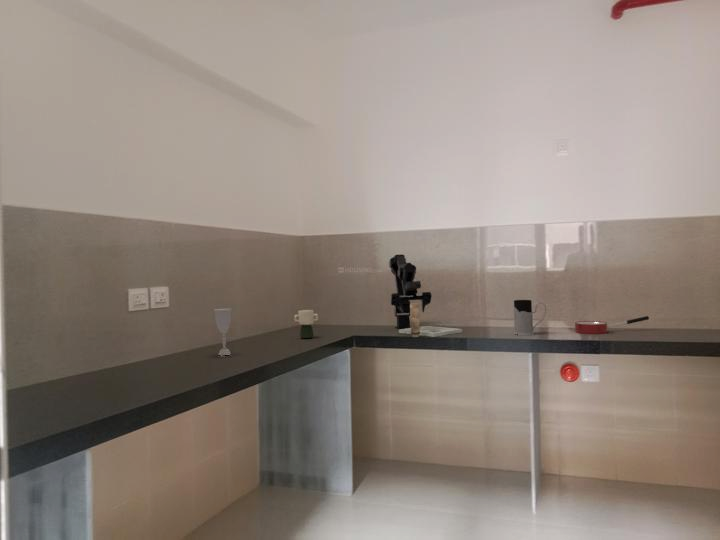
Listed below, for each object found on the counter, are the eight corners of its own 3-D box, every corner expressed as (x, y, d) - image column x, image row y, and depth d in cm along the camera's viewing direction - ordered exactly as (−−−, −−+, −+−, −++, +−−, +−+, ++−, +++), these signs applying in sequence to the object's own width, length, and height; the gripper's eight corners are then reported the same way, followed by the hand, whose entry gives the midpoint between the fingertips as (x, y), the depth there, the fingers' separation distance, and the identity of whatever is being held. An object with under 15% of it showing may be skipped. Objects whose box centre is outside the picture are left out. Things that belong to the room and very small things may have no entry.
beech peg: (409, 336, 241) (408, 303, 241) (415, 335, 243) (414, 303, 243) (415, 337, 237) (414, 304, 237) (422, 336, 240) (420, 303, 240)
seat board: (399, 332, 256) (398, 329, 256) (426, 328, 267) (426, 325, 267) (433, 336, 238) (433, 333, 238) (462, 332, 249) (461, 329, 249)
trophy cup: (318, 336, 252) (317, 309, 252) (319, 338, 245) (318, 310, 245) (294, 337, 251) (293, 310, 251) (295, 340, 244) (294, 311, 244)
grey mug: (512, 332, 241) (511, 299, 241) (545, 332, 238) (544, 299, 238) (514, 335, 233) (513, 301, 232) (548, 335, 230) (547, 300, 230)
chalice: (217, 354, 211) (215, 308, 211) (234, 353, 212) (233, 308, 212) (214, 357, 204) (212, 310, 204) (232, 356, 205) (230, 309, 204)
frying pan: (635, 328, 244) (635, 314, 244) (654, 331, 231) (654, 316, 231) (569, 331, 240) (569, 317, 240) (585, 335, 227) (584, 320, 227)
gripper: (390, 276, 248) (394, 301, 237) (430, 274, 249) (435, 299, 238) (388, 292, 255) (392, 317, 244) (427, 290, 257) (432, 315, 246)
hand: (413, 312), depth 243 cm, fingers open, 9 cm apart
